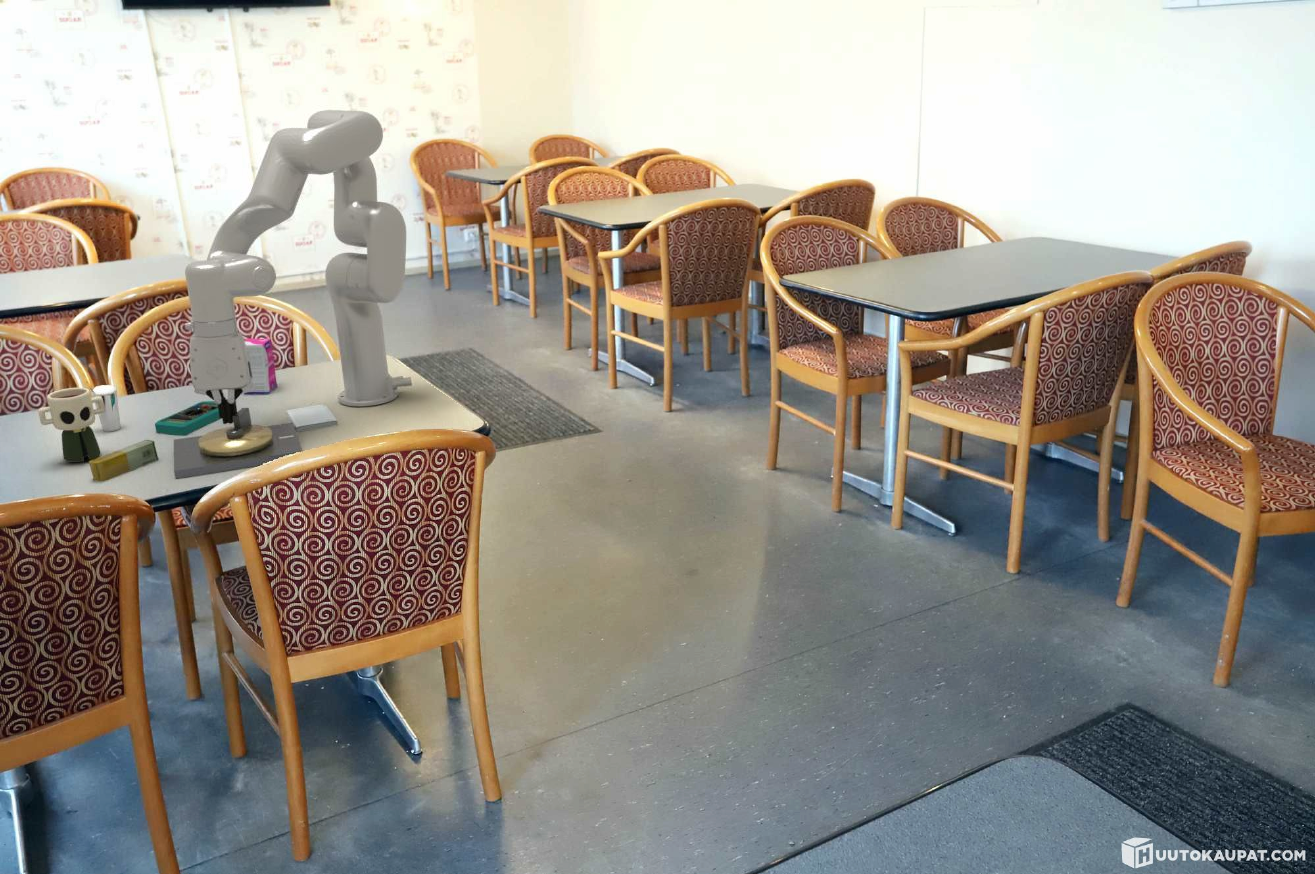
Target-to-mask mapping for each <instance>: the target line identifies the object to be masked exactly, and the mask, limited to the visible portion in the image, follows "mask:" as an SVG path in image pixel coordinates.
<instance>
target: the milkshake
mask: <svg viewBox="0 0 1315 874" xmlns="http://www.w3.org/2000/svg"><path fill="white" fill-rule="evenodd" d="M88 387H89V388H88V389H89V390H90V391H91V392H90V395H91V398H93V397H98V396H100V397H102V399H103V403H104V408H105V412H103V413H100V414H97V415H98V418H99V421H100V425H101V429H102V431H103V432H117V431H118V430H120V429H121V427H122V425H121V419H120V418H121V417H120V410H119V409H120V408H119V400H118V391H117V388H116V387H115V386H114V385H111V384H106V385H105V384H104V385H103V384H102V385H97V386H95V387H94V388H92V386H88ZM94 405H95V408H96V409H99V406H98V402H94Z"/></svg>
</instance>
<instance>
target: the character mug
mask: <svg viewBox="0 0 1315 874" xmlns="http://www.w3.org/2000/svg"><path fill="white" fill-rule="evenodd" d="M90 391H91V390H90V388H87V387H70V388H63V389H58V390H55V391H52V392H50V393H49V394H47V395H46V399H47V404H48V406H43V407H40V408H39V409H38V418H39V422H40V424H41V425H42V426H48V425H53V427H54V428H55V429H56V430H59V431H62V433H61V445H62V456H63V457H62V458H63V460H65V461H66V462H71V463H77V462H79V463H80V462H84V461H85V460H84V458H85V457H88V460H93V459H96V458H98V457H100V455H101V449H100V446H99V443H98V441H97V437H96V435H95V433H94V430H93V428H92V427H91V425H93V424H94V423H95V422H96V415H98V414H100V413H103V412H105V408H104V403H103V399H102V397H100V396H98V397H92V394H91V392H90ZM95 402H98V406H99V409H94V405H93V403H94V404H95ZM49 412H50V417H51V418H48V419H47V416H46V414H45V413H49Z"/></svg>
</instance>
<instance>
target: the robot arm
mask: <svg viewBox="0 0 1315 874" xmlns="http://www.w3.org/2000/svg"><path fill="white" fill-rule="evenodd" d="M306 125H307V126H306V127H305V128H304V127H288V128H287V127H286V128H282V129H279V130H277V131H276V132H275V133H274V134H273V135H272V137H271V138H270V140H269V143H268V145H267V148H266V151H265V153H264V155H263V158H262V161H261V164H260V166H259V169H258V171H257V174H256V176H255V179H254V182H253V184H252V186H251V188H250V189H251V190H250V192H249V194H248V196H247V198H246V199H244V201H243V202H242V203H241V204H240V205H238V207H237V208H236V209H235V210H234V211H233V212H232V213H230V215H229V216H228V217H227V219H226V220H225V221H224V222H223V223H222V224H221V226H220V227H219V229H218V231H217V232H216V234H215V236H214V239H213V241H212V244H211V247H210V249H209V252H208V254H207V258H206V260H197V261H194V262H190V263H188V264H187V265H186V266H185V269H184V271H185V273H184V274H185V282H186V287H187V295H188V299H189V306H190V314H191V319H192V320H191V321H190V322H186V323H185V324H184V327H185V330H186V331H190V332H192V333H193V335H192V336H191V337H190V338H189V363H190V365H189V366H190V376H191V383H192V386H193V388H194V393H195V394H196V395H203V396H207V397H209V398H210V399H211V400H212V401H215V403H216V404H218V410H219V417H220V419H222V424H223V425H227V424H229V425H231V424H234V423H233V417H232V416H233V415H235V414H236V413H237V412H238V408H237V401H236V400H237V399H238V398H240V396H241V395H244V393H247V392H250V391H253V389H254V388H255V387H254V384H253V382H252V369H251V364H250V359H249V355H248V351H247V347H246V344H245V341H244V340H245V338H244V336H243V334H242V332H240V331H239V329H238V322H237V316H236V315H237V314H236V308H235V301H234V299H235V298H239V297H241V298H242V297H259V296H262V295H264V294H266V293H268V292H270V291H271V290H272V288H273V287H274V285H275V283H276V281H277V280H276V279H277V273H276V270H275V268H274V266H273V265H272V263H271V262H270V261H268V260H267V259H265V258H264V257H260V256H257V255H250V254H248V252H249V251H250V248H251V247H252V245H253V244H254V243H255V241H256V240H257V239H258V238H259V237H260V236H261V235H262V234H264V233H265V232H266V231H268V230H270V229H272V228H274V227H276V226H278V225H280V224H282V223H284V222H286V221H287V220H288V219H290V218H291V217H293V215H294V214H295V210H296V208H297V205H298V202H299V200H300V197H301V195H302V192H303V189H304V186H305V183H306V181H307V180H308V176H309V175H319V176H320V175H321V176H323V175H329V174H332V175H333V176H332V177H333V187H334V189H333V191H334V193H333V194H334V195H333V231H334V235H335V237H336V238H337V240H339V242H341V243H342V244H345V245H348V246H353V247H358V248H366V253H361V252H360V253H359V252H342V253H339V254H336V255H335V256H334V257H332V258H331V259H330V260H329V261H328V263H327V265H326V267H325V274H324V277H325V278H324V279H325V284H326V287H327V288H326V289H327V290H328V294H329V296H330V299H331V304H332V308H333V311H334V313H333V314H334V317H335V318H334V319H335V324H336V333H337V339H338V347H339V355H340V363H341V371H342V378H343V379H342V380H343V386H344V390H342V391H340V392H339V394H338V395H337V398H338V399H337V400H338V402H339V403H340V404H341V405H344V406H348V407H371V406H377V405H382V404H386V403H389V402H392V401H393V400H395V399H397V397H398V396H399V393H398V388H400V387H403V388H404V387H409V386H410V387H411V386H412V384H413V383H412V378H411V376H408V377H407V376H406V377H404V376H403V375H402V376H400V375H399V376H396V377H394V376H391V374H390V373H389V369H388V359H387V350H386V341H385V333H384V321H383V318H382V317H383V315H382V313H381V309H380V306H379V305H378V304H389V303H392V302H394V301H395V300H396V299H398V297H399V296H400V295H401V293H402V292H403V289H404V285H405V279H406V277H405V276H406V257H407V226H406V222H405V218H404V217H403V214H402V212H401V211H400V209H398V207H396V206H394V205H393V204H391V203H389V202H384V201H378V182H377V180H378V179H377V172H376V169H375V166H374V163H373V161H372V158H371V157H370V156H372V155H373V154H375V153H376V152H377V151H378V150H379V148H380V147H381V145H382V142H383V138H384V131H383V127H382V124H381V123H380V121H379V120H378V118H377V117H376V116H375V115H373V114H372V113H369V112H367V111H363V110H342V109H341V110H340V109H338V110H337V109H335V110H333V109H328V110H326V109H325V110H320V111H316V112H315V113H313V114H312V115H311V116H309V118H308V120H307V124H306ZM224 390H227V397H226V396H225V393H224ZM220 419H219V420H220Z"/></svg>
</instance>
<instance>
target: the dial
mask: <svg viewBox="0 0 1315 874" xmlns="http://www.w3.org/2000/svg"><path fill="white" fill-rule="evenodd" d="M232 417H233V423H232V424H233V425H232V426H226V427H221V428H219V429H217V428H216V429H215V430H212V431H209V432H207V433H205V434H203V436H202V435H201V436H202V437H201V438H200V439H199V441H198V442H199V448H200V451H201V452H202V453H204V454H206V455H211V456H234V455H241V454H246V453H250V452H254V451H257V450H260V449H262V448H264V447H266V446H268V445H269V444H271V442H272V441H273V437H272V431H271V429H269V428H268V427H265V425H264V426H263V425H259V424H258V425H257V424H252V420H251V413H250V408H249V407H242V408H240V409H239V410H237V413H236V414H235V415H233V416H232Z"/></svg>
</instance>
